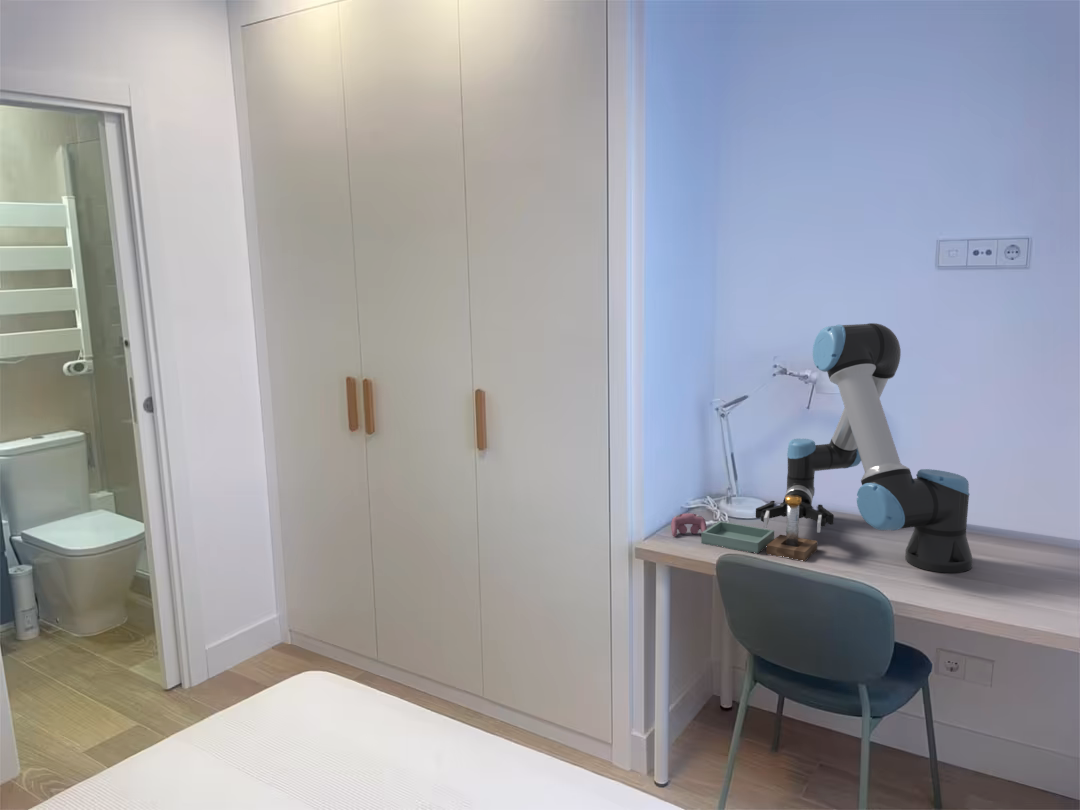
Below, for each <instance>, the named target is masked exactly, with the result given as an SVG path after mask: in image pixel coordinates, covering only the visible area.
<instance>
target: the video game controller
mask: <svg viewBox="0 0 1080 810" xmlns="http://www.w3.org/2000/svg"><path fill="white" fill-rule="evenodd" d="M686 525H691V526H690V529H689V530H690V532H691V535H696V534H698V533H699V531H701V533H702V532H703V531H705V530H706V529H708V526H707V524H706V519H705V518H704V516H702V515H700V514H696V513H690V512H689V513H682V514H681V513H680V514H677V515H675V516H673V518H672V519H671V524H670V529H671V535H672V537H673V538H676V537H677V534H678V532H679V533H680V534H681V535H685V534H686V533H687V532H688V528H687V526H686Z"/></svg>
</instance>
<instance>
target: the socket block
mask: <svg viewBox="0 0 1080 810" xmlns="http://www.w3.org/2000/svg"><path fill="white" fill-rule="evenodd" d="M817 551H818V540H814V539H808V538H803V537H798V547H794V546H788V545H786V534H779V535H777V536H776V537H774V540H773V541H771V542H770V543H769V544H767V547H766V553H767V554H771V555H770V556H773V555H776V556H775V557H778V556H782V557H781V558H783V556H784V557H789V558H793V559H798V560H797V561H799V560H803V561H802V562H804V561H805V560H806V559H807V558H808V559H809V558H810V557H812V555H814V554H815V553H816V552H817ZM766 553H765V554H766ZM767 554H766V555H767ZM793 559H792V560H793ZM808 559H807V560H808ZM807 560H806V561H807ZM806 561H805V562H806Z"/></svg>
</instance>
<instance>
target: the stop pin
mask: <svg viewBox="0 0 1080 810" xmlns="http://www.w3.org/2000/svg"><path fill="white" fill-rule="evenodd" d="M784 497H785V503H786V504H787V516H786V531H785V532H786V534H785V535H786V545H788V546H794V547H798V538H799V528H800V527H799V522H800V518H799V505H800V504H801V497H800V496H797V495H787V496H785V495H784Z"/></svg>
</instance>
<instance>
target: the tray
mask: <svg viewBox="0 0 1080 810" xmlns="http://www.w3.org/2000/svg"><path fill="white" fill-rule="evenodd" d="M700 533H701V534H700V535H701V537H700V541H701V543H700V544H703V545H708V544H710V545H709V546H713V545H718V546H717V547H719V546H723V547H722V548H724V547H725V549H730V550H735V551H739V550H740V551H739V552H744V551H748V552H747V553H750V552H755V553H758V554H760V553H761V552H762V551H763V550H764V549H763V548H765V547H766V546H767V544H769V543H770V542H771V541H773V540H774V539H775V529H768V528H764V527H763V528H762V527H756V526H750V525H745V524H744V525H743V524H739V523H732V522H727V521H723V520H722V521H721V520H719V521H717V522H715V523H714V524H713V525H711V526H710V527H707V529H706V530H705V531H703V532H702V531H701V532H700ZM766 548H767V547H766ZM766 548H765V549H766ZM762 549H763V550H762ZM741 550H742V551H741ZM761 550H762V551H761ZM760 551H761V552H760ZM759 552H760V553H759ZM755 553H754V554H755Z"/></svg>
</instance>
